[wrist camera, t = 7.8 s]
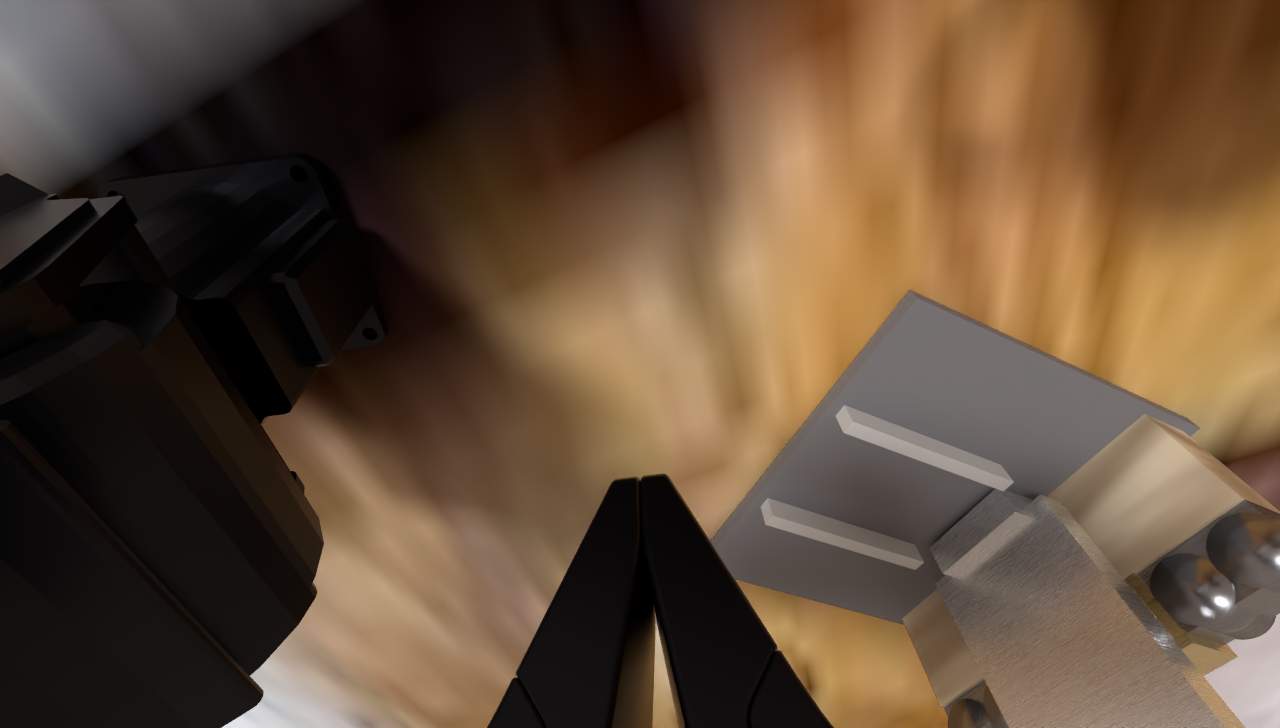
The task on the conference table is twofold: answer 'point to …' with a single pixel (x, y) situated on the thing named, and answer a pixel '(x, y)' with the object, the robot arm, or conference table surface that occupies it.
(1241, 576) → the chain ends
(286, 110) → the conference table surface
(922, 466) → the jig base
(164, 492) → the robot arm
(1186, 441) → the jig block
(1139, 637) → the brushed metal plate
